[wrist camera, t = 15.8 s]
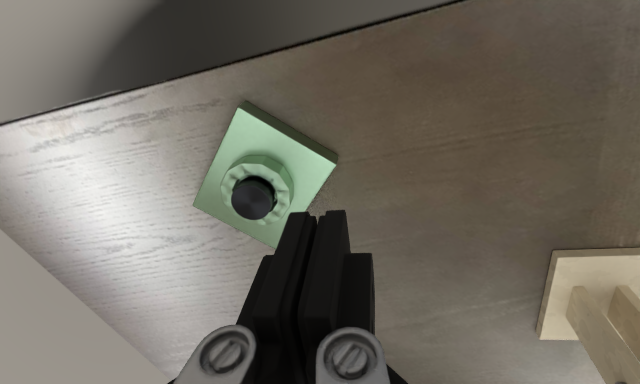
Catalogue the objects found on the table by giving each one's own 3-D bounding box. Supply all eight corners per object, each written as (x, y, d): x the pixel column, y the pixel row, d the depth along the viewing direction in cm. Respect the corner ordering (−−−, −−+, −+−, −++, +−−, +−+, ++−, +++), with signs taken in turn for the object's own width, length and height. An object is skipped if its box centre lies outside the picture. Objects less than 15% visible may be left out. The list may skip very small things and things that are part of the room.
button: (246, 169, 32) (240, 178, 30) (281, 189, 32) (277, 198, 31) (231, 198, 34) (224, 208, 32) (264, 216, 34) (260, 226, 33)
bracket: (552, 250, 36) (633, 363, 25) (653, 246, 35) (786, 366, 24) (535, 331, 42) (594, 453, 31) (621, 331, 40) (717, 459, 29)
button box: (245, 100, 33) (230, 112, 29) (338, 155, 34) (335, 173, 31) (200, 195, 38) (184, 215, 35) (282, 238, 40) (274, 262, 36)
